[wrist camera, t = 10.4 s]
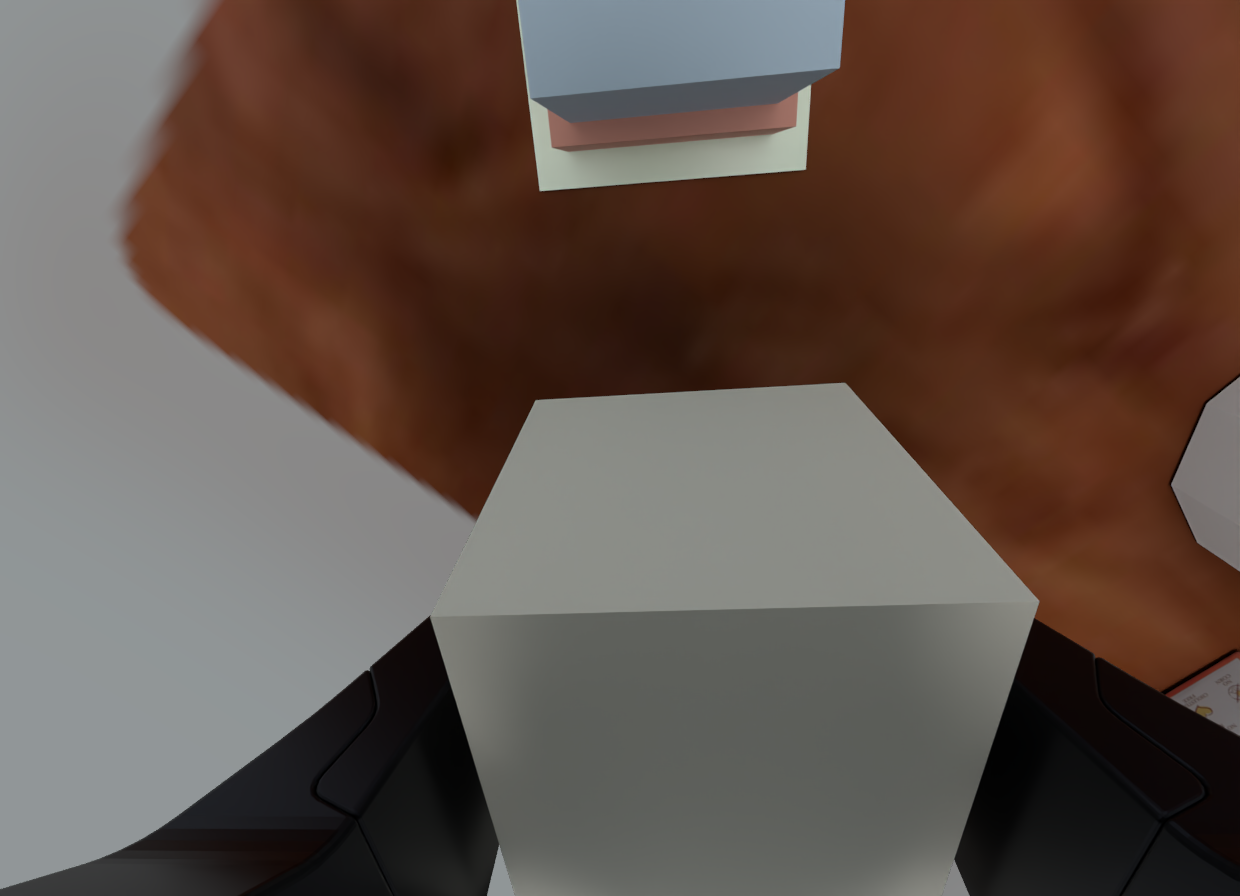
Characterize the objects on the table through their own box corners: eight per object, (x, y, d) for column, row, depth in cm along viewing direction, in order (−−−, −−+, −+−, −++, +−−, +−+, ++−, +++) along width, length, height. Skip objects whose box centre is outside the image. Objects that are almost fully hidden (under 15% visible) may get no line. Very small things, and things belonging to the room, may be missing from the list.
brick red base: (772, 134, 16) (796, 126, 14) (568, 151, 17) (551, 147, 14) (783, -147, 14) (815, -226, 11) (540, -117, 14) (514, -186, 11)
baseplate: (803, 169, 17) (805, 169, 17) (541, 191, 18) (540, 191, 17) (826, -203, 13) (829, -210, 13) (498, -159, 14) (495, -166, 14)
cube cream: (820, 620, 11) (932, 923, 7) (570, 625, 12) (521, 916, 7) (845, 382, 9) (1039, 601, 4) (535, 400, 9) (430, 616, 5)
